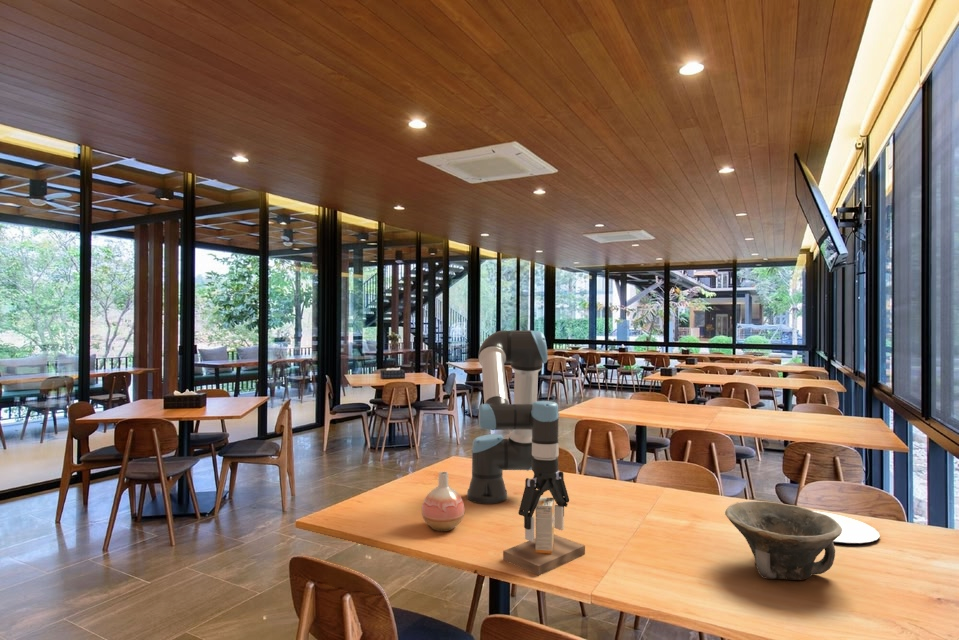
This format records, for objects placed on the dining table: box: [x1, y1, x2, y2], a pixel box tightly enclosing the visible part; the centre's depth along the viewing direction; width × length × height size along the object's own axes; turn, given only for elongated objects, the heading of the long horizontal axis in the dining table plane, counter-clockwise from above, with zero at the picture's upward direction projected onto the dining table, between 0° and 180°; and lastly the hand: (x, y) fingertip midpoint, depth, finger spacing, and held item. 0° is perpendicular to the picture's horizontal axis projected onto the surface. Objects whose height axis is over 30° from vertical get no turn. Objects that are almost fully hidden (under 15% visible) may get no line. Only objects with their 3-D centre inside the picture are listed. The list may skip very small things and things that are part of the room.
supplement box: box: [535, 496, 555, 554], centre depth 152 cm, size 8×5×13 cm, turn 169°
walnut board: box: [502, 533, 586, 577], centre depth 152 cm, size 20×13×2 cm, turn 133°
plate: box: [813, 510, 881, 545], centre depth 175 cm, size 29×29×2 cm
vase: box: [421, 471, 465, 532], centre depth 174 cm, size 14×14×18 cm
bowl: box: [724, 500, 842, 581], centre depth 143 cm, size 27×26×15 cm
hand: (544, 534), depth 152 cm, fingers open, 12 cm apart
